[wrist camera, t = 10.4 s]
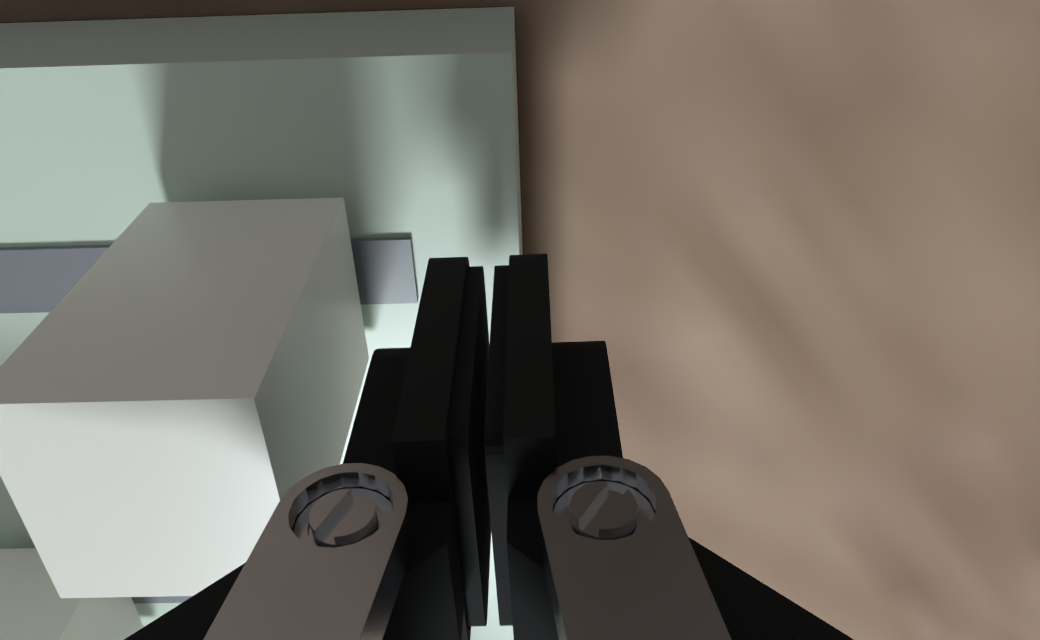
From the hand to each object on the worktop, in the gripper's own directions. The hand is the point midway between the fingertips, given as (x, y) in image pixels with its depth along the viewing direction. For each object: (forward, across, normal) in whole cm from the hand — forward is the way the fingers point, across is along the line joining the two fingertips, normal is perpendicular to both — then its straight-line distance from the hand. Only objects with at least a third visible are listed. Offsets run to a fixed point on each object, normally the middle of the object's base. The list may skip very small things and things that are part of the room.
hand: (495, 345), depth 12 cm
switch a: (+2, +4, 0) cm, 4 cm away
